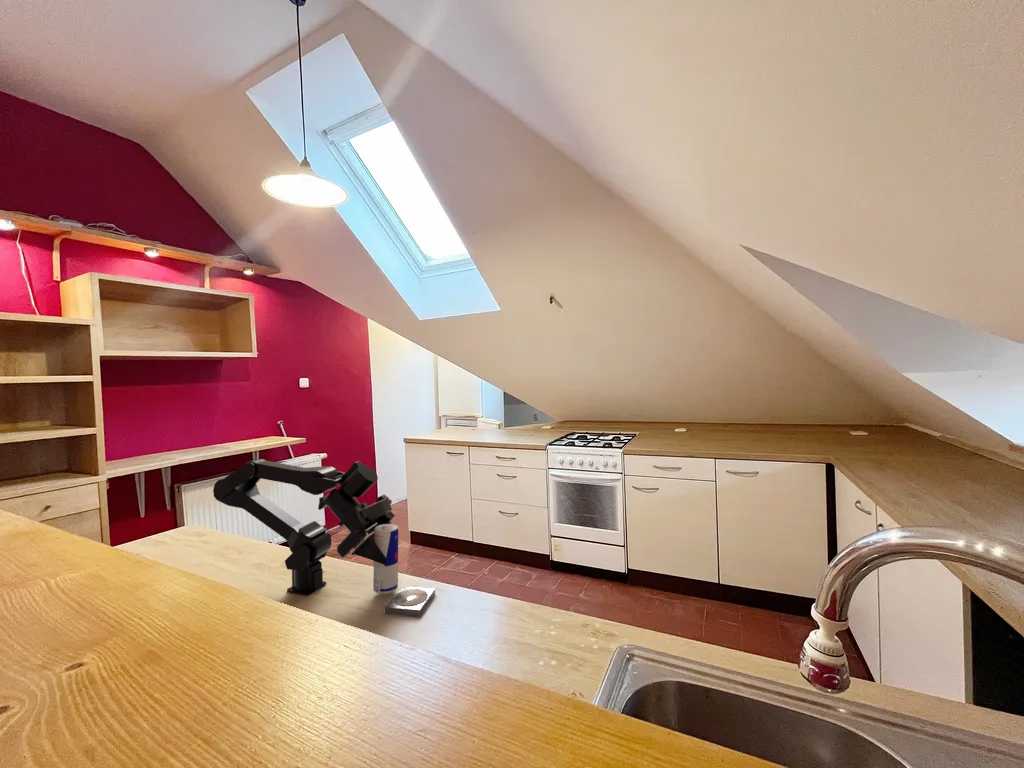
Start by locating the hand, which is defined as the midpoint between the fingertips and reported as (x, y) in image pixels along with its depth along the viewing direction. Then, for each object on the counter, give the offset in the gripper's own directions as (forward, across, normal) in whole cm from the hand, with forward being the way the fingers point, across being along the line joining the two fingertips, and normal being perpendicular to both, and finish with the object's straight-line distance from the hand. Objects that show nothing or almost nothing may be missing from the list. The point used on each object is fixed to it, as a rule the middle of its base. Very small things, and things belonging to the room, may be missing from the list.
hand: (391, 558), depth 104 cm
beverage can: (+4, 0, +7) cm, 8 cm away
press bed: (+11, -3, +2) cm, 11 cm away
